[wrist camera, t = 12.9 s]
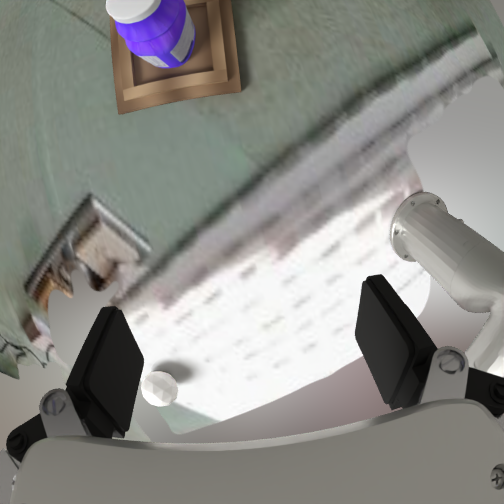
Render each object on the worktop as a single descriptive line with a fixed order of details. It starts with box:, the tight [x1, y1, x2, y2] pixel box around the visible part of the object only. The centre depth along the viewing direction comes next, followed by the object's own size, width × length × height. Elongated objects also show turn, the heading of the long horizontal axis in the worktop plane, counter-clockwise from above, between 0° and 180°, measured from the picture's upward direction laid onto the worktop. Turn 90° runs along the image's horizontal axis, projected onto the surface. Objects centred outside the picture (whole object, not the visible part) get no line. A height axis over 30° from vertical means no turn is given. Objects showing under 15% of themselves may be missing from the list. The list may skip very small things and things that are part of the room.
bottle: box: [106, 0, 196, 68], centre depth 20 cm, size 7×6×17 cm
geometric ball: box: [141, 371, 178, 407], centre depth 52 cm, size 8×8×8 cm
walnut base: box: [110, 0, 241, 114], centre depth 28 cm, size 16×16×3 cm
